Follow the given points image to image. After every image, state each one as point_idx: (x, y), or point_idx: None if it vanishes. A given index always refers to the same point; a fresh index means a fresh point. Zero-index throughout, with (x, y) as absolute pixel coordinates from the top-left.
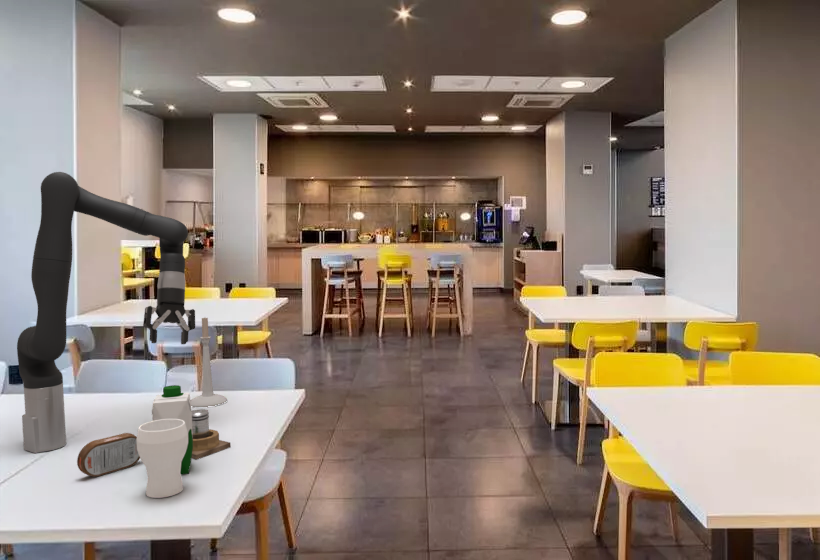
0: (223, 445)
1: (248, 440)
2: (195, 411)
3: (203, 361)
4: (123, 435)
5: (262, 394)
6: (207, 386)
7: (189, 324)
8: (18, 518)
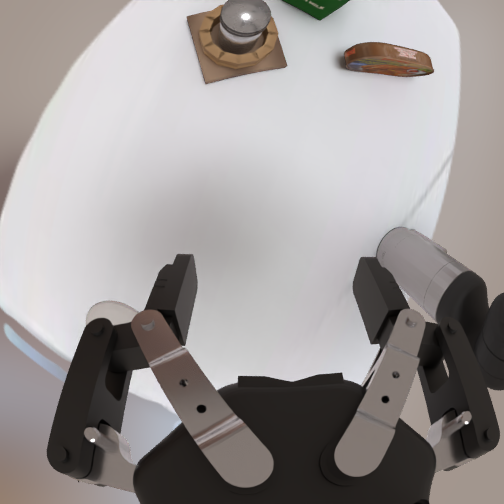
0: (203, 12)
1: (143, 34)
2: (250, 19)
3: None
4: (390, 52)
5: (34, 313)
6: None
7: (118, 381)
8: (453, 39)
